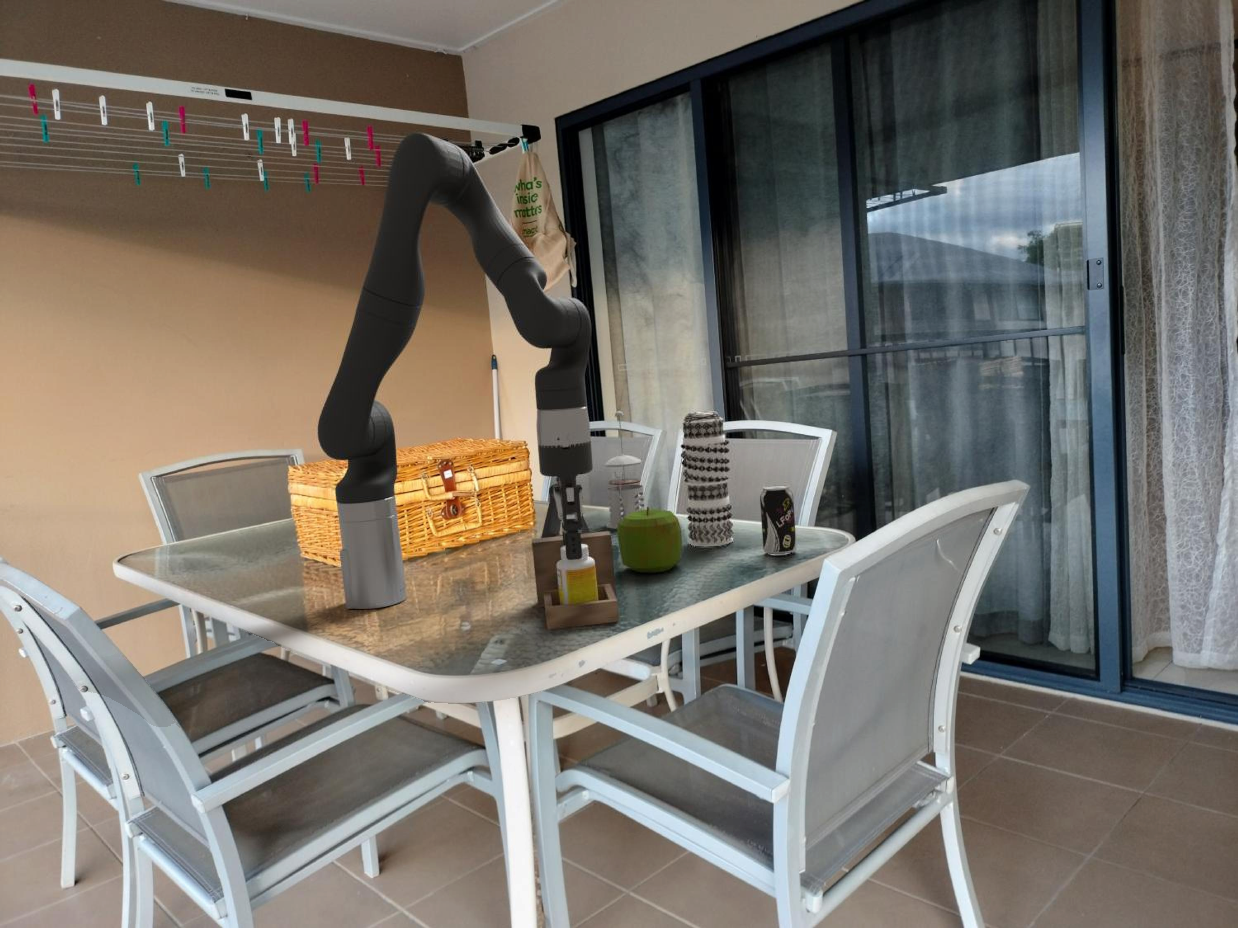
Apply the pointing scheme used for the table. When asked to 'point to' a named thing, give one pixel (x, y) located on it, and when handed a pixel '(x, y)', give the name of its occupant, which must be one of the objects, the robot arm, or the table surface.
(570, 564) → the supplement bottle
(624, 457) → the french press
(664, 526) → the apple
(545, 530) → the phone stand
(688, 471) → the decorative candle
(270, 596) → the table surface
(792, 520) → the beverage can
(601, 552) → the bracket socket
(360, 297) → the robot arm
